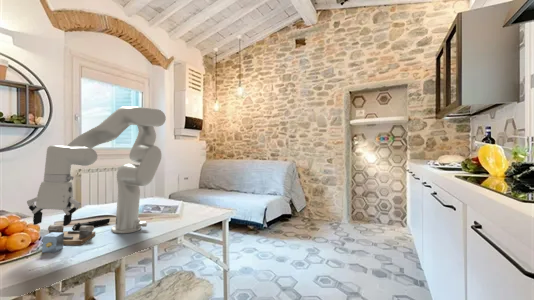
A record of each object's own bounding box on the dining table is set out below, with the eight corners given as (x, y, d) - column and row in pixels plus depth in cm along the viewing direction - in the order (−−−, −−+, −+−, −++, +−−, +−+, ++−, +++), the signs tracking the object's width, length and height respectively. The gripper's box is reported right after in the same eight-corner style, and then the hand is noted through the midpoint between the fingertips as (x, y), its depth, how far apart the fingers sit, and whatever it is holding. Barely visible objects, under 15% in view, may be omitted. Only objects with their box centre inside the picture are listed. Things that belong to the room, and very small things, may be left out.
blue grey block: (51, 247, 98) (52, 231, 98) (63, 247, 99) (65, 232, 99) (40, 253, 92) (42, 236, 92) (54, 253, 93) (55, 237, 93)
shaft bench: (97, 235, 113) (98, 222, 113) (84, 244, 102) (85, 230, 102) (57, 234, 110) (58, 221, 110) (39, 244, 99) (40, 229, 99)
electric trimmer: (111, 225, 129) (111, 218, 129) (74, 231, 116) (75, 224, 116) (107, 223, 131) (108, 217, 131) (71, 229, 118) (71, 222, 118)
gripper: (87, 179, 100) (83, 222, 100) (38, 175, 97) (33, 220, 97) (76, 181, 93) (72, 228, 92) (22, 177, 90) (17, 226, 89)
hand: (52, 224), depth 95 cm, fingers open, 9 cm apart
